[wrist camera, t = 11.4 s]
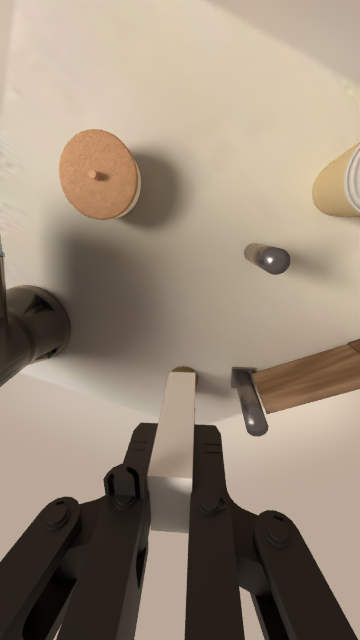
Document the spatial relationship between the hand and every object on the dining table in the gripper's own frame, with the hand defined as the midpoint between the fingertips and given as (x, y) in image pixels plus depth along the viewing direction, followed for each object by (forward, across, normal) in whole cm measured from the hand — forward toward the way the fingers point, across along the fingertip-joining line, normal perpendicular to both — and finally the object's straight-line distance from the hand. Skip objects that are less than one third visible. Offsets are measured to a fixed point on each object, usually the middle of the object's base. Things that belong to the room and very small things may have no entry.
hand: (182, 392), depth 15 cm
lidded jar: (+33, -13, +16) cm, 39 cm away
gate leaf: (+31, +21, -14) cm, 40 cm away
